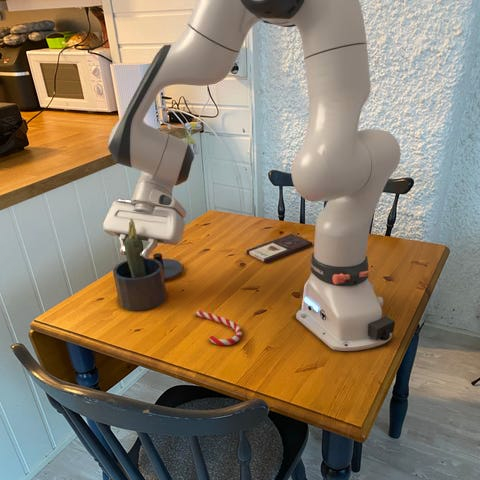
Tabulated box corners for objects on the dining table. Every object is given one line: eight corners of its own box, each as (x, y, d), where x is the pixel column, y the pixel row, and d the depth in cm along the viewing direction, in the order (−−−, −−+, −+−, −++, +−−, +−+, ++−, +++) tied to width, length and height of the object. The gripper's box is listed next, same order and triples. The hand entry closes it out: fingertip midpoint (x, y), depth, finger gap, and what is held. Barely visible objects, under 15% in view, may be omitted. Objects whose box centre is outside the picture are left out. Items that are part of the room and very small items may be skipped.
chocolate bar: (312, 242, 140) (266, 260, 130) (312, 245, 140) (266, 263, 131) (291, 233, 146) (246, 250, 136) (291, 236, 146) (246, 253, 137)
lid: (186, 278, 125) (184, 261, 122) (139, 286, 122) (135, 268, 119) (178, 259, 135) (176, 242, 132) (134, 266, 132) (131, 249, 130)
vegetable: (146, 302, 114) (132, 224, 103) (130, 300, 115) (115, 222, 104) (154, 293, 118) (142, 217, 107) (139, 291, 119) (125, 215, 108)
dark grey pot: (169, 306, 113) (165, 274, 109) (120, 314, 111) (114, 282, 106) (162, 284, 123) (158, 254, 118) (117, 291, 120) (111, 261, 116)
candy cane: (208, 305, 110) (250, 331, 101) (208, 309, 111) (250, 336, 101) (180, 317, 106) (222, 345, 96) (181, 322, 107) (222, 350, 97)
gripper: (107, 191, 113) (89, 245, 110) (181, 200, 106) (164, 257, 103) (121, 203, 118) (104, 254, 116) (192, 212, 111) (176, 267, 109)
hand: (133, 256), depth 110 cm, fingers closed on vegetable, 4 cm apart
